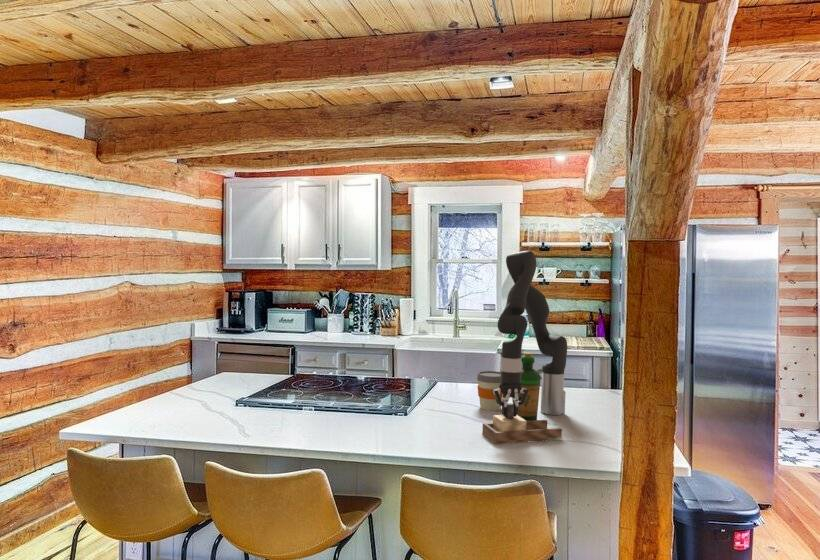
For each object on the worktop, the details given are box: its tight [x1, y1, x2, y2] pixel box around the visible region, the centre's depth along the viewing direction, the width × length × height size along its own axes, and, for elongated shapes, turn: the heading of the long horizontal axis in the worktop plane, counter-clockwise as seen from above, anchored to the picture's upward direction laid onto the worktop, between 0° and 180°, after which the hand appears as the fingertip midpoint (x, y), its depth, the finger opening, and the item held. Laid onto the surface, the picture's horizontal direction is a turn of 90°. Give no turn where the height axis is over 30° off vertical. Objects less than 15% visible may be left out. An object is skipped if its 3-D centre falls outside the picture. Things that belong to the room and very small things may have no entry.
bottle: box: [517, 351, 542, 421], centre depth 238 cm, size 11×11×28 cm
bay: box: [482, 419, 563, 445], centre depth 220 cm, size 26×12×4 cm, turn 105°
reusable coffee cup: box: [476, 370, 503, 412], centre depth 260 cm, size 13×13×15 cm
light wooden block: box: [492, 402, 526, 432], centre depth 218 cm, size 9×9×11 cm
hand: (509, 416), depth 218 cm, fingers closed on light wooden block, 3 cm apart
